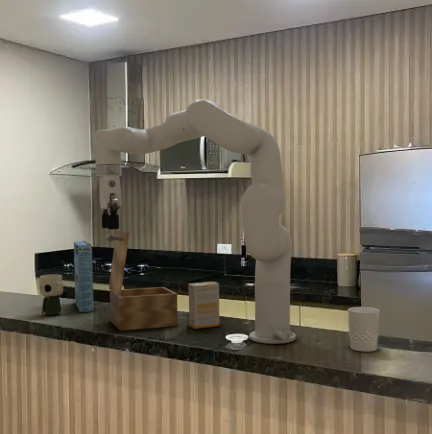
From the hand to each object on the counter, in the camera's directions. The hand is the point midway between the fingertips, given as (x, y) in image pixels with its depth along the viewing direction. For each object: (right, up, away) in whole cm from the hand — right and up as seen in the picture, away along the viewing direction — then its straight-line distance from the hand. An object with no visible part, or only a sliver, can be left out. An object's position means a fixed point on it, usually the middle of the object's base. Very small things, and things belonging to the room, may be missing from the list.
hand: (110, 228), depth 180 cm
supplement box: (+28, -30, 0) cm, 41 cm away
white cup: (+69, -31, -27) cm, 80 cm away
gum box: (-15, -28, +33) cm, 46 cm away
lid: (+3, -10, +2) cm, 10 cm away
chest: (+9, -29, +5) cm, 31 cm away
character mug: (-23, -29, +20) cm, 42 cm away
